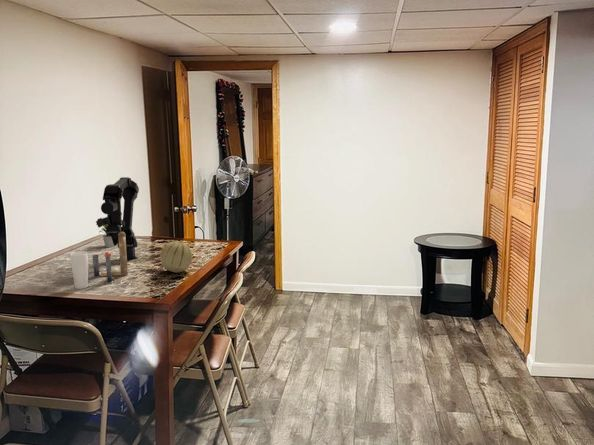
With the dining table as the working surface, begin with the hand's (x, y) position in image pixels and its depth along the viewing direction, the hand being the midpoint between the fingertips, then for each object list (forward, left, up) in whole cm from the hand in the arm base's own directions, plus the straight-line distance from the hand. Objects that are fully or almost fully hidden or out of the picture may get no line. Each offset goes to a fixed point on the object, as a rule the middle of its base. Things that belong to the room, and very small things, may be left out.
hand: (116, 243), depth 250 cm
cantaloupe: (-11, +29, -12) cm, 33 cm away
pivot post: (+15, +4, -12) cm, 19 cm away
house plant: (-25, -40, -12) cm, 49 cm away
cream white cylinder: (+28, +12, -12) cm, 33 cm away
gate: (+9, +9, -12) cm, 18 cm away
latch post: (+17, +16, -12) cm, 26 cm away
